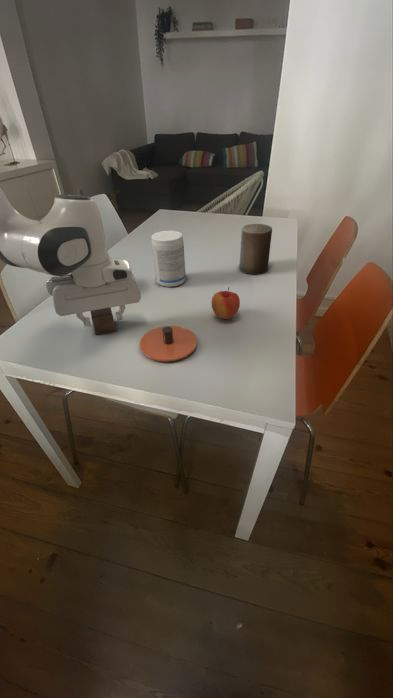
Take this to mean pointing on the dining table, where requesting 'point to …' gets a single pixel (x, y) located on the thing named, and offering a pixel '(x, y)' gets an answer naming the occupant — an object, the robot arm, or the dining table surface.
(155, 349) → the bowl lid
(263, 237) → the pillar candle
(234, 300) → the apple
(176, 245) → the supplement tub
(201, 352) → the dining table surface
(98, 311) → the block
